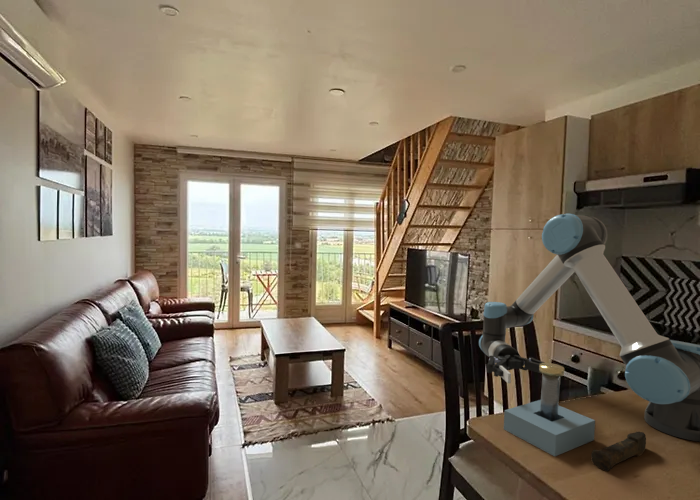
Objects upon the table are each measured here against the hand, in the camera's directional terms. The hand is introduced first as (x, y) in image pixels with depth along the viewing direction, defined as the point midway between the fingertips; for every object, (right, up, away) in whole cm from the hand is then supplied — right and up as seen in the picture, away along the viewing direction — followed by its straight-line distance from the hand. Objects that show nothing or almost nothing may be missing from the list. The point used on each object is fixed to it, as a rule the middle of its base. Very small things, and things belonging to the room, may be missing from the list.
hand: (534, 379), depth 107 cm
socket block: (0, -11, -8) cm, 14 cm away
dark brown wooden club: (+12, -12, -18) cm, 24 cm away
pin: (0, -10, -8) cm, 13 cm away
